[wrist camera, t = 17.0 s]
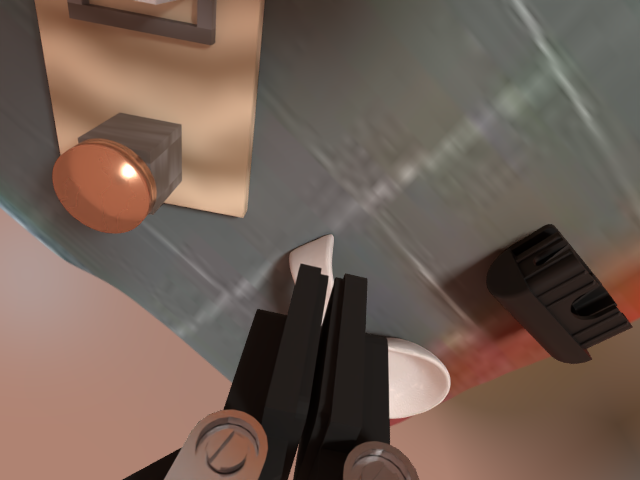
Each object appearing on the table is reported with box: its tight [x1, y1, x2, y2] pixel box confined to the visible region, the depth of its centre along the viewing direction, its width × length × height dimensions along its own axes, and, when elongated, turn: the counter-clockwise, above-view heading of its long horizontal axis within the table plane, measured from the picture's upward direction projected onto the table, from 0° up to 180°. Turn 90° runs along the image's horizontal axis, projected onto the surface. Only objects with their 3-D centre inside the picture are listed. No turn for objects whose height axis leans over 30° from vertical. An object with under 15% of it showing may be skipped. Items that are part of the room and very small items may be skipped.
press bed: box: [35, 0, 265, 218], centre depth 30 cm, size 26×16×8 cm, turn 171°
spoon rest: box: [289, 234, 450, 418], centre depth 44 cm, size 24×12×7 cm, turn 31°
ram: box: [52, 138, 157, 233], centre depth 32 cm, size 6×6×7 cm
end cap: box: [486, 224, 632, 364], centre depth 39 cm, size 10×7×7 cm
